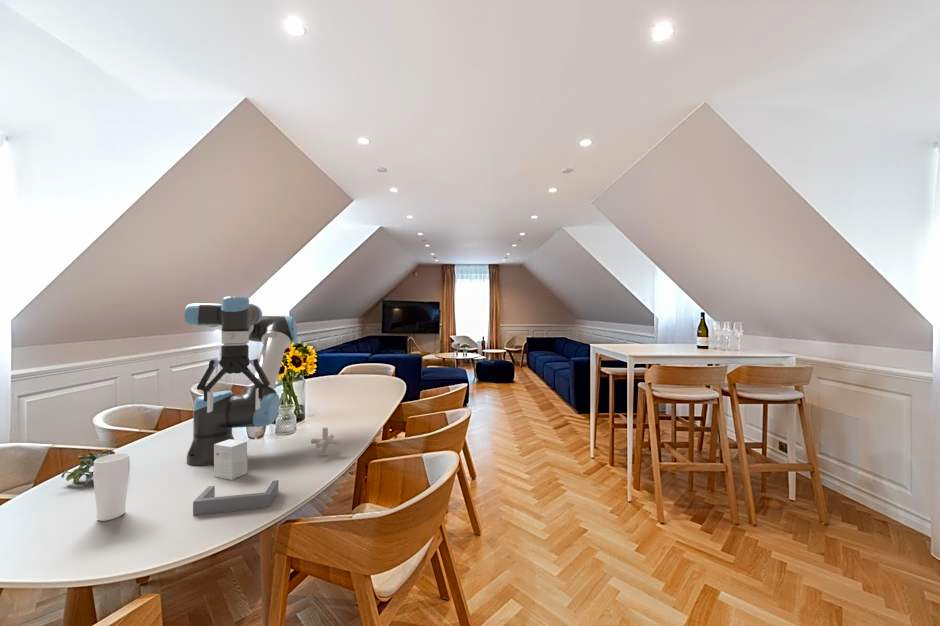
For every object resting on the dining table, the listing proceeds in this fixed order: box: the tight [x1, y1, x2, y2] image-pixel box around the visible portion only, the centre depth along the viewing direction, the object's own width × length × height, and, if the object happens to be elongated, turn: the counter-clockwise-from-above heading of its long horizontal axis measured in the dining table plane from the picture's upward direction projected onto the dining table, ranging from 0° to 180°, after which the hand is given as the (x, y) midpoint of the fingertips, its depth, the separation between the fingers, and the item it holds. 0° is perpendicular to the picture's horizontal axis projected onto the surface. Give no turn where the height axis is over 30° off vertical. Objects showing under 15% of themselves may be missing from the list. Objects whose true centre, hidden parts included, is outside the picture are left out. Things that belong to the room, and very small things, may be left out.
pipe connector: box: [310, 426, 340, 457], centre depth 139 cm, size 10×10×10 cm
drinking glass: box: [92, 452, 131, 522], centre depth 96 cm, size 7×7×15 cm
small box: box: [213, 439, 248, 481], centre depth 121 cm, size 8×6×10 cm
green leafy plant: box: [60, 448, 117, 488], centre depth 116 cm, size 11×11×12 cm
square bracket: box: [192, 479, 279, 516], centre depth 103 cm, size 18×9×4 cm, turn 103°
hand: (234, 410), depth 121 cm, fingers open, 13 cm apart
